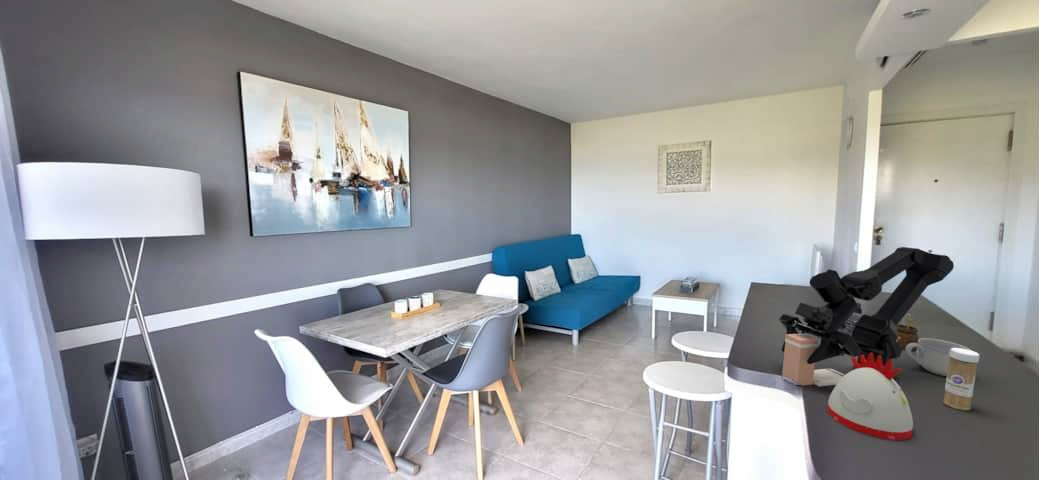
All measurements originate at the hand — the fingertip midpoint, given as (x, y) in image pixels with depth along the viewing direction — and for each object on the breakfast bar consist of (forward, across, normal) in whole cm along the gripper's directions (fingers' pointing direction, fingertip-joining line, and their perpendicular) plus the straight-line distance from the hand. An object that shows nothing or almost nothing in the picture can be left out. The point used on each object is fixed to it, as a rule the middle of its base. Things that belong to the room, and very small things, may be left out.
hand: (795, 357), depth 105 cm
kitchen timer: (+5, +19, +5) cm, 20 cm away
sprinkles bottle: (-15, +18, +24) cm, 33 cm away
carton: (+4, 0, +6) cm, 7 cm away
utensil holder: (-36, -14, +46) cm, 60 cm away
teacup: (-28, +2, +37) cm, 47 cm away
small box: (-23, -16, +32) cm, 43 cm away
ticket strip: (-3, 0, +12) cm, 12 cm away
